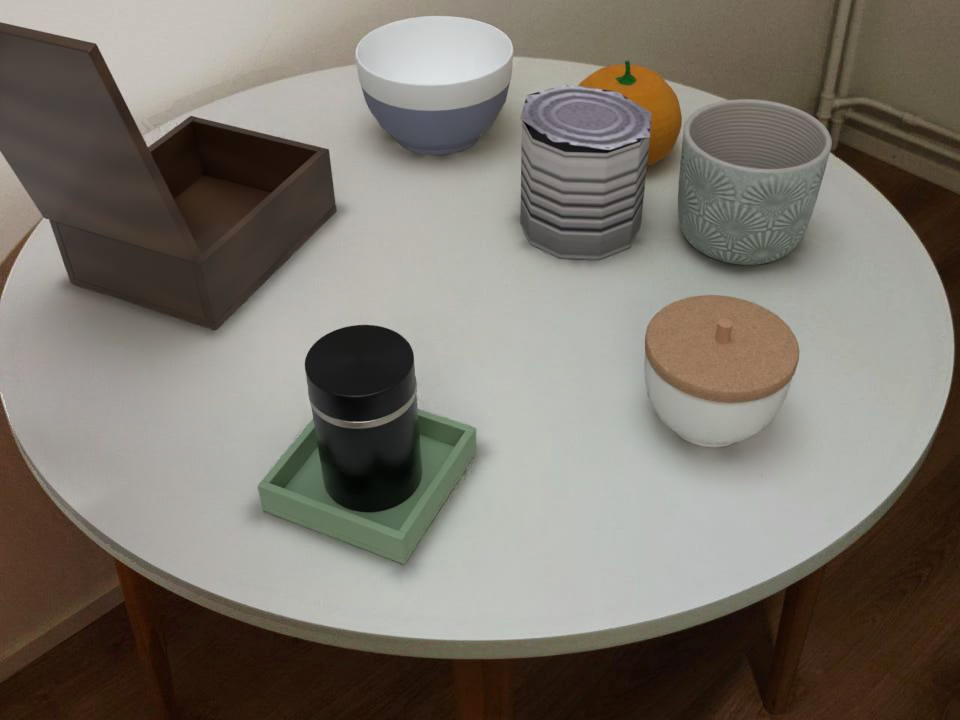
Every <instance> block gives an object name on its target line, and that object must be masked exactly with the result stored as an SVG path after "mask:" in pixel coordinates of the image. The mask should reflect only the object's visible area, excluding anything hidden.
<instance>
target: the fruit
mask: <svg viewBox="0 0 960 720" xmlns="http://www.w3.org/2000/svg"><path fill="white" fill-rule="evenodd" d="M577 86H581V87H588V88H595V89H603V90H610V91H617V92H618V93H620V94H622V95H623V96H625V97H627V98H628V99H630V100H631V101H633V102H635V103H636V104H638V105H640V106H641V107H643V108H644V109H646V110H648V111H649V112H651V132H650V142H649V151H648V160H647V167H650V166H652V165H654V164H657V163H658V162H660V161H661V160H662V159H664V158H665V157H666V156H667V155H669V154H670V153H671V151H672V150H673V149H674V147H675V145H676V143H677V141H678V138H679V135H680V134H681V130H682V126H683V125H682V124H683V123H682V121H683V116H682V109H681V106H680V101H679V98H678V96H677V93H675V91H674V89H673V88H672V87H671V86H670V85H669V83H667V81H666V80H665V79H664V78H663V77H662V76H661V75H660V74H658V73H657V72H655V71H654V70H652V69H650V68H647V67H645V66H641V65H635V64H631V63H630V60H625V61H624V64H623V63H621V64H612V65H606V66H603V67H601V68H599V69H597V70H595V71H594V72H592V73H591V74H589V75H587V76H586V77H585V78H584V79H583V80H581V82H580V83H579V84H578V85H577Z"/></svg>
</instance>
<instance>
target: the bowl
mask: <svg viewBox="0 0 960 720" xmlns="http://www.w3.org/2000/svg"><path fill="white" fill-rule="evenodd" d="M513 45H514V44H513V42H512V40H511V39H510V38H509V36H508V35H507V34H506V33H505V32H504V31H502V30H501V29H500V28H497V27H495V26H493V25H491V24H489V23H486V22H483V21H480V20H478V19H477V20H476V19H473V18H468V17H461V16H454V15H453V16H452V15H427V16H417V17H416V16H415V17H410V18H404V19H400V20H396V21H392V22H390V23H387V24H383V25H381V26H379V27H377V28H375V29H372V30H371V31H370V32H368V33H366V35H364V36H363V37H362V38H361V39H360V41H359V42H358V43H357V45H356V48H355V52H354V53H355V54H354V55H355V57H354V58H355V64H356V70H357V77H358V82H359V84H360V87H361V91H362V94H363V97H364V101H365V103H366V106H367V108H368V109H369V111H370V113H371V114H372V115H373V117H374V119H375V120H376V122H377V123H378V125H379V126H380V127H381V129H383V130H384V132H386V133H387V134H389V135H390V136H392V137H393V138H395V139H396V141H397V143H398V145H400V146H401V147H403V148H404V149H406V150H408V151H410V152H413V153H416V154H420V155H427V156H445V155H451V154H457V153H459V152H462V151H465V150H467V149H469V148H471V147H473V146H474V145H475V144H476V143H477V142H478V141H479V139H480V137H481V136H482V135H483V134H484V133H486V132H487V131H488V130H489V129H490V128H491V127H492V126H493V124H494V123H495V121H496V120H497V118H498V116H499V115H500V113H501V111H502V109H503V107H504V106H505V104H506V103H507V98H508V94H509V88H510V84H511V80H512V76H513V75H512V74H513V64H514V53H515V52H514V51H515V50H514V46H513Z"/></svg>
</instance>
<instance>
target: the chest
mask: <svg viewBox="0 0 960 720" xmlns="http://www.w3.org/2000/svg"><path fill="white" fill-rule="evenodd" d="M148 148H149V150H150V152H151V155H152V157H153V159H154V161H155V163H156V165H157V167H158V169H159V171H160V173H161V175H162V177H163V179H164V181H165V183H166V185H167V187H168V189H169V191H170V193H171V195H172V197H173V199H174V201H175V203H176V205H177V207H178V209H179V211H180V213H181V215H182V217H183V219H184V221H185V223H186V225H187V227H188V229H189V231H190V233H191V235H192V237H193V239H194V241H195V243H196V245H197V247H198V249H199V251H200V253H201V255H202V256H201V258H200V259H199V260H198V262H197V263H193V262H190V261H186V260H183V259H179V258H176V257H173V256H169V255H166V254H163V253H159V252H156V251H153V250H149V249H146V248H143V247H139V246H136V245H132V244H129V243H126V242H122V241H119V240H116V239H112V238H109V237H106V236H102V235H99V234H96V233H92V232H89V231H85V230H82V229H79V228H75V227H72V226H69V225H65V224H62V223H59V222H55V221H52V220H49V219H48V221H49V224H50V227H51V230H52V233H53V236H54V238H55V241H56V245H57V247H58V250H59V253H60V257H61V259H62V262H63V265H64V269H65V271H66V274H67V277H68V280H69V283H70V285H72V286H73V285H74V286H76V287H80V288H82V289H86V290H89V291H91V292H94V293H98V294H101V295H105V296H107V297H110V298H113V299H116V300H120V301H123V302H126V303H130V304H133V305H136V306H138V307H142V308H145V309H148V310H151V311H154V312H157V313H160V314H163V315H167V316H170V317H174V318H175V319H179V320H182V321H185V322H188V323H192V324H194V325H198V326H201V327H204V328H208V329H211V330H214V331H217V330H218V329H219V328H220V327H221V326H222V325H223V324H224V323H225V322H226V321H227V320H228V319H229V318H230V317H231V316H233V314H234V313H235V312H237V310H238V309H239V308H240V307H241V306H242V305H243V304H244V303H245V302H247V300H248V299H249V298H250V297H251V296H253V294H254V293H255V292H256V291H257V290H259V288H260V287H262V285H263V284H264V283H266V281H267V280H268V279H269V278H270V277H271V276H272V275H274V274H275V273H276V272H277V270H279V269H280V268H281V267H282V266H283V265H284V264H285V263H286V261H288V260H289V259H290V258H291V257H292V256H293V255H294V254H295V253H296V252H297V251H298V250H299V249H300V248H301V247H302V246H303V245H304V244H305V243H306V242H307V241H308V240H309V239H310V238H311V237H312V236H313V235H314V234H315V233H316V232H317V231H318V230H319V229H320V228H321V227H322V226H324V224H325V223H326V222H327V221H329V220H330V218H331V217H333V215H334V214H336V212H337V205H336V196H335V187H334V179H333V172H332V161H331V156H330V155H331V153H330V149H329V148H325V147H321V146H317V145H313V144H309V143H305V142H300V141H297V140H292V139H288V138H285V137H280V136H276V135H272V134H267V133H263V132H259V131H256V130H253V129H252V130H251V129H248V128H243V127H239V126H234V125H232V124H231V125H230V124H227V123H223V122H218V121H215V120H210V119H205V118H201V117H197V116H194V115H190V116H188V117H187V118H185V119H184V120H183V121H181V122H180V123H179V124H177V125H176V126H175V127H173V128H171V129H170V130H169V131H168V132H166V133H165V134H164V135H162V136H161V137H159V138H158V139H157V140H155V141H154V142H153V143H151V144H150V145H148Z"/></svg>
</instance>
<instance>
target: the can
mask: <svg viewBox="0 0 960 720" xmlns="http://www.w3.org/2000/svg"><path fill="white" fill-rule="evenodd" d="M519 119H520V120H521V143H520V145H521V150H520V151H521V154H520V155H521V156H520V164H521V165H520V210H519V211H520V216H519V217H520V218H519V221H520V222H519V224H520V226H521V228H522V230H523V233H524V235H525V237H526V239H527V241H528V244H529V245H530V246H532V247H535V248H537V249H538V250H540V251H543V252H545V253H547V254H549V255H551V256H554V257H555V258H558V259H559V260H586V261H600V260H603V259H605V258H608V257H610V256H613V255H616V254H619V253H621V252H624V251H626V250H629V249H630V248H631V247H632V245H633V243H634V241H635V239H636V237H637V235H638V234H639V232H640V230H641V225H642V217H643V207H644V198H645V188H646V179H647V171H648V166H647V160H648V151H649V142H650V132H651V112H649V111H648V110H646V109H644V108H643V107H641V106H640V105H638V104H636V103H635V102H633V101H631V100H630V99H628V98H627V97H625V96H623V95H622V94H620V93H618V92H617V91H610V90H603V89H595V88H588V87H581V86H578V85H573V84H563V85H560V86H555V87H552V88H548V89H544V90H540V91H537V92H533V93H530V94H526V97H525V100H524V104H523V107H522V111H521V115H520V117H519Z"/></svg>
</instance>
